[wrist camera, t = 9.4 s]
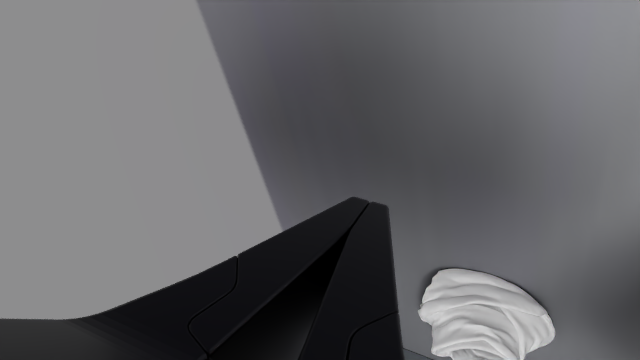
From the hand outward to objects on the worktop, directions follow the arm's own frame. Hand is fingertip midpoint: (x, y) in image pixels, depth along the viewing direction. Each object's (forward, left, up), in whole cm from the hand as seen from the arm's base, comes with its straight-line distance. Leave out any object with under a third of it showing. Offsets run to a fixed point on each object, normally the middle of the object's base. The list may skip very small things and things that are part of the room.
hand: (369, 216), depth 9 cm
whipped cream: (-5, +15, -13) cm, 21 cm away
